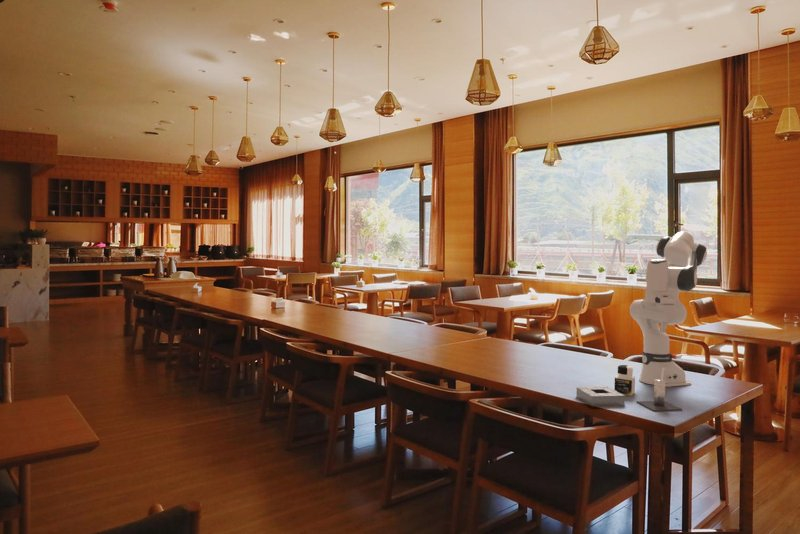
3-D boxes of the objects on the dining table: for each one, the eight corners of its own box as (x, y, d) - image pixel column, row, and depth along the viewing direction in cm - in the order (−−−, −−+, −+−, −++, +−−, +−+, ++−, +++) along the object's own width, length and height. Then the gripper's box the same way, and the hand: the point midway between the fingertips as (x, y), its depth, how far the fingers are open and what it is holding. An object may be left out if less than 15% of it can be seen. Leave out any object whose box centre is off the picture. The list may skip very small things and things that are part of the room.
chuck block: (607, 395, 238) (607, 386, 238) (624, 405, 224) (624, 395, 224) (576, 396, 236) (576, 387, 236) (591, 406, 223) (592, 396, 222)
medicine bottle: (614, 393, 242) (614, 366, 242) (617, 389, 248) (618, 363, 248) (631, 396, 238) (632, 368, 238) (634, 392, 244) (635, 365, 244)
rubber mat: (664, 401, 230) (664, 400, 230) (682, 410, 218) (682, 409, 218) (636, 402, 228) (636, 401, 228) (653, 411, 216) (653, 409, 216)
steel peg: (651, 403, 225) (652, 379, 224) (660, 403, 225) (661, 379, 225) (657, 406, 221) (658, 381, 220) (666, 406, 221) (667, 381, 221)
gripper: (636, 295, 241) (635, 327, 242) (664, 300, 221) (663, 334, 222) (649, 295, 242) (648, 326, 243) (678, 300, 222) (677, 334, 222)
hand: (655, 330), depth 232 cm, fingers open, 8 cm apart
